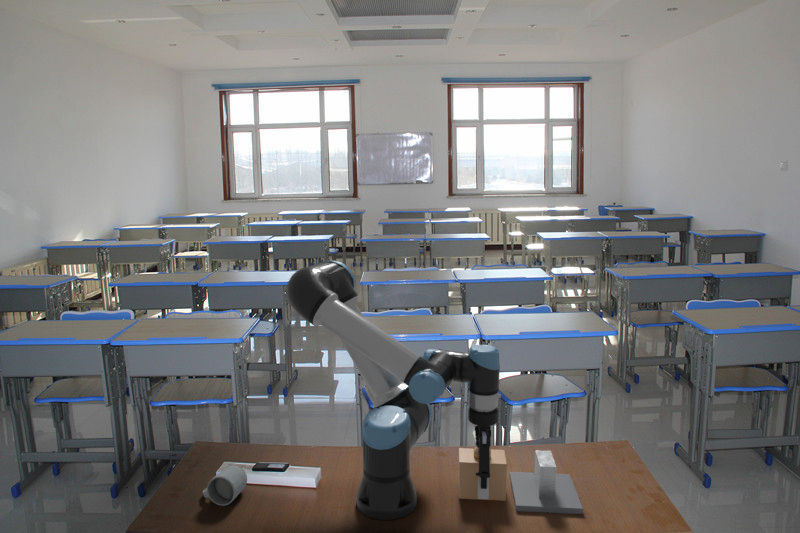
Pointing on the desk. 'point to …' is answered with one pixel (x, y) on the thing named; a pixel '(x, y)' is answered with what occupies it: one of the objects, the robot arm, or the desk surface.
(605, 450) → the desk surface
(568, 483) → the grey square plate
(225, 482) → the ceramic mug
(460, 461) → the tan block with dome
